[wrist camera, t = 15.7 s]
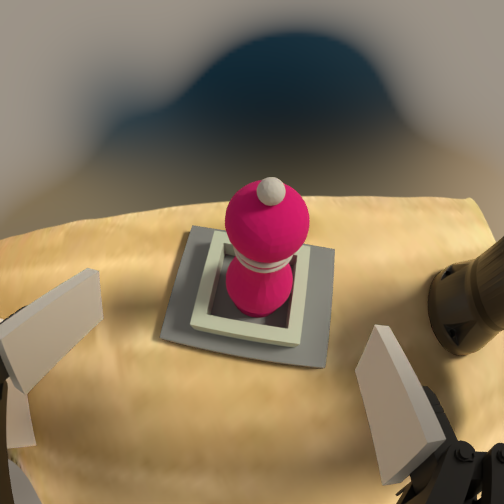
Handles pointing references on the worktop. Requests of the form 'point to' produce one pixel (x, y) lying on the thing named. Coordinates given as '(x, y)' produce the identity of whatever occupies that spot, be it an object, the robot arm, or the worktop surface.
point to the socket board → (240, 325)
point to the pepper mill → (264, 244)
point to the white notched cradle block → (18, 418)
